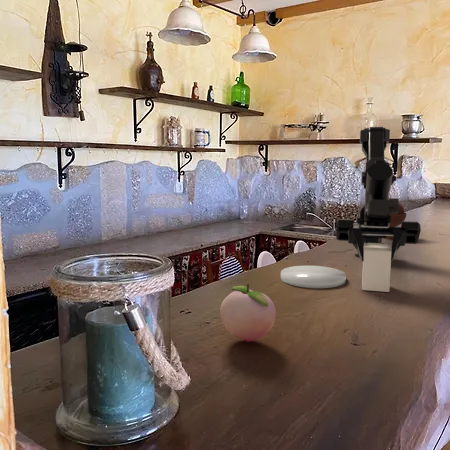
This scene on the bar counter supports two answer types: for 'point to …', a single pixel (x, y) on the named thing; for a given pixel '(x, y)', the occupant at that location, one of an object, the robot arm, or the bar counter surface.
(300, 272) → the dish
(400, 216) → the ice cream bowl
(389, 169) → the robot arm
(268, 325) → the decorative fruit
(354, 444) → the bar counter surface
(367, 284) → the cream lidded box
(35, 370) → the bar counter surface
